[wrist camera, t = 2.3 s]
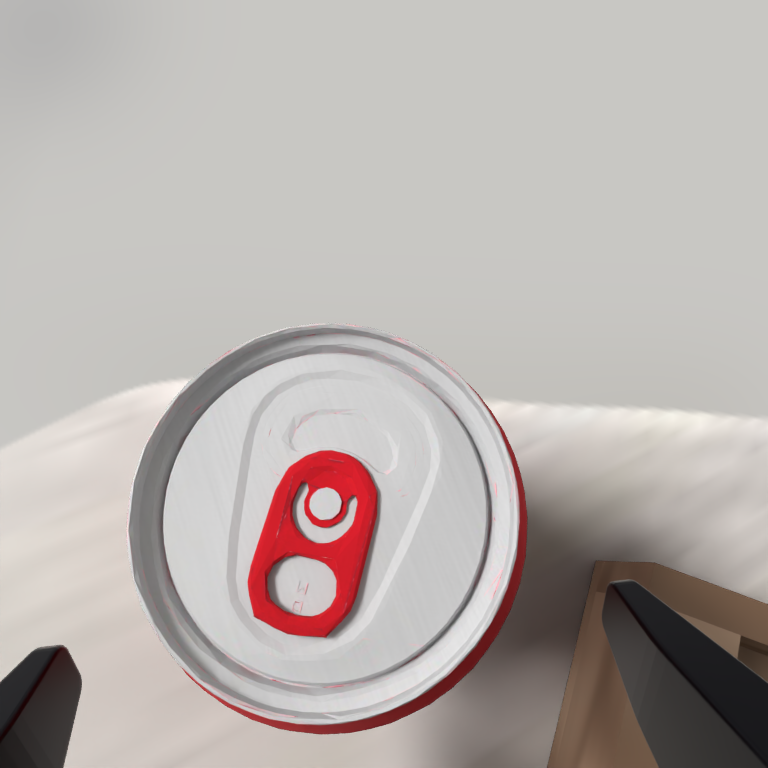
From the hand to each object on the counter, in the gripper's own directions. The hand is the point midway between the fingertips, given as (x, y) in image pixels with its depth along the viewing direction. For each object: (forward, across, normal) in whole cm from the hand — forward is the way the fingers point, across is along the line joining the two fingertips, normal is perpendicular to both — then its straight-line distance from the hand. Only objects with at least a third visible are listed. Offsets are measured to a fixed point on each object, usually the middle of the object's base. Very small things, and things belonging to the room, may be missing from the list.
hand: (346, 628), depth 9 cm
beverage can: (+8, 0, +6) cm, 10 cm away
